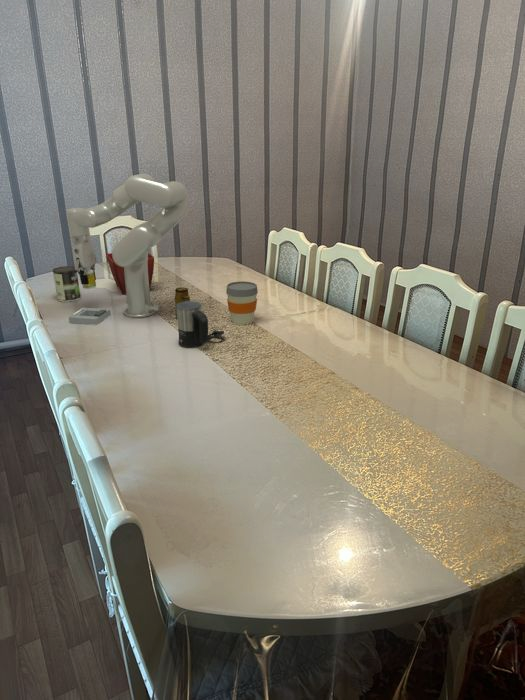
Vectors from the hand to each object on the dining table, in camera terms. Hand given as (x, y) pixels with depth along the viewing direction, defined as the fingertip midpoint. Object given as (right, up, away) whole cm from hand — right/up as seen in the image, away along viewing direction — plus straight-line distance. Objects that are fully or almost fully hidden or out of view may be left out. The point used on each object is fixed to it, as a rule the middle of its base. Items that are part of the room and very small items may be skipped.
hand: (88, 281), depth 219 cm
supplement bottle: (0, -3, +1) cm, 3 cm away
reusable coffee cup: (+65, -17, -8) cm, 68 cm away
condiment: (+41, -15, -3) cm, 44 cm away
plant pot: (+11, 0, +32) cm, 34 cm away
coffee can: (-15, -6, +19) cm, 25 cm away
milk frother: (+51, -26, -27) cm, 64 cm away
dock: (+3, -16, -6) cm, 17 cm away
